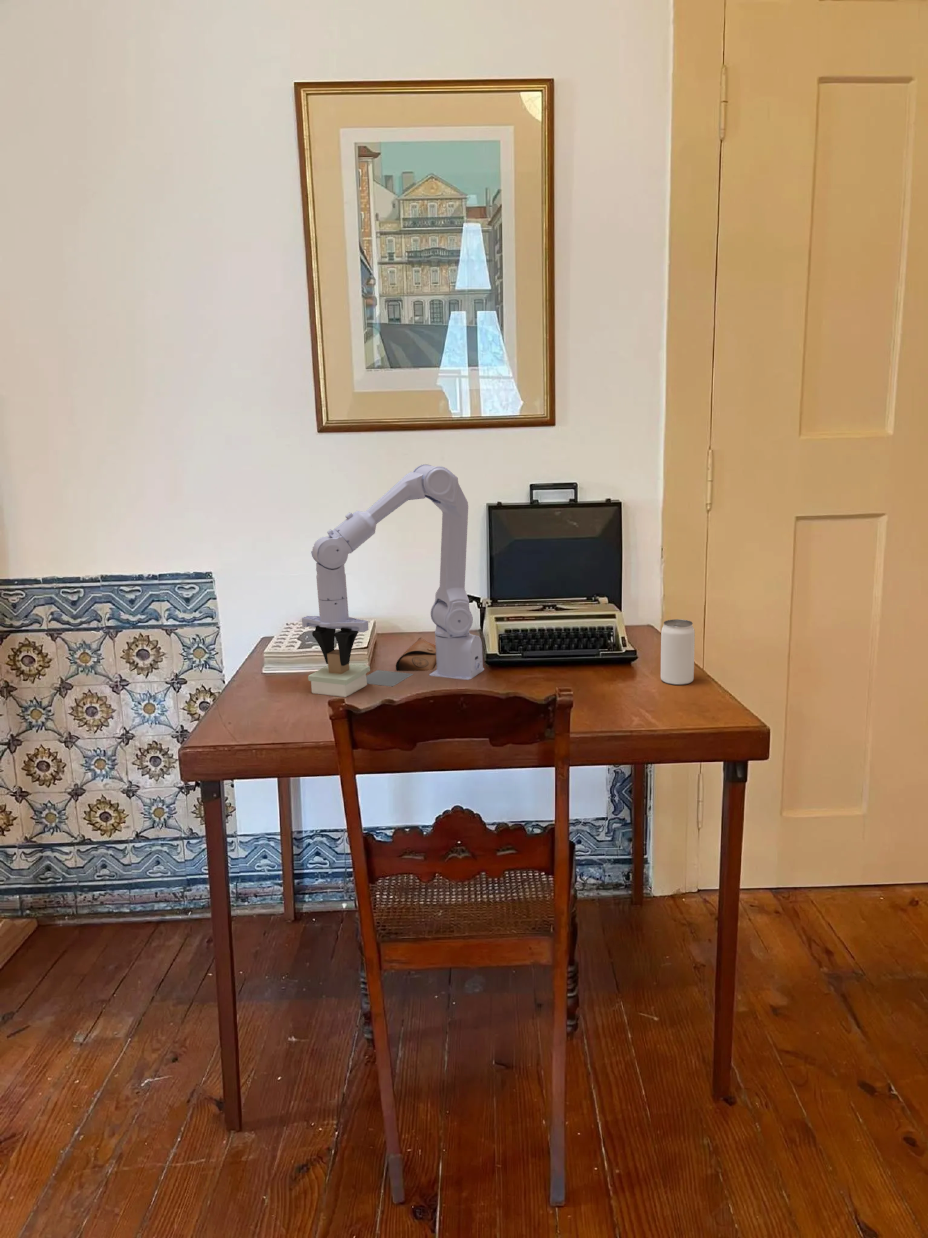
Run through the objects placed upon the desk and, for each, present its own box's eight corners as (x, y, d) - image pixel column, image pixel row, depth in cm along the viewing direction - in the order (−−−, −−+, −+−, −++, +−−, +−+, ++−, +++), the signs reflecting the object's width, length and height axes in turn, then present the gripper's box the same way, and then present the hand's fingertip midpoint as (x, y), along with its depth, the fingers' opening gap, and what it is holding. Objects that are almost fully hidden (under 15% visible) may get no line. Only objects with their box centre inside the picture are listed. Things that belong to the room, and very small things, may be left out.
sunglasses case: (434, 673, 186) (417, 647, 186) (407, 688, 188) (390, 662, 188) (451, 650, 204) (435, 626, 203) (426, 664, 206) (411, 641, 205)
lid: (370, 670, 179) (368, 647, 177) (346, 685, 171) (344, 660, 170) (333, 666, 183) (331, 643, 181) (308, 680, 175) (305, 656, 174)
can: (696, 677, 177) (697, 619, 174) (690, 687, 171) (691, 627, 168) (664, 674, 179) (665, 617, 177) (657, 683, 174) (658, 625, 171)
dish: (367, 687, 179) (366, 673, 178) (345, 699, 172) (344, 684, 171) (334, 683, 182) (333, 669, 182) (312, 694, 175) (310, 680, 175)
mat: (413, 675, 185) (413, 673, 185) (392, 688, 178) (392, 686, 177) (377, 671, 189) (377, 670, 189) (355, 683, 181) (355, 682, 181)
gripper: (290, 599, 172) (296, 665, 175) (352, 604, 166) (357, 672, 169) (311, 592, 178) (316, 656, 182) (372, 596, 172) (376, 662, 175)
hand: (337, 663), depth 176 cm, fingers closed on lid, 3 cm apart
